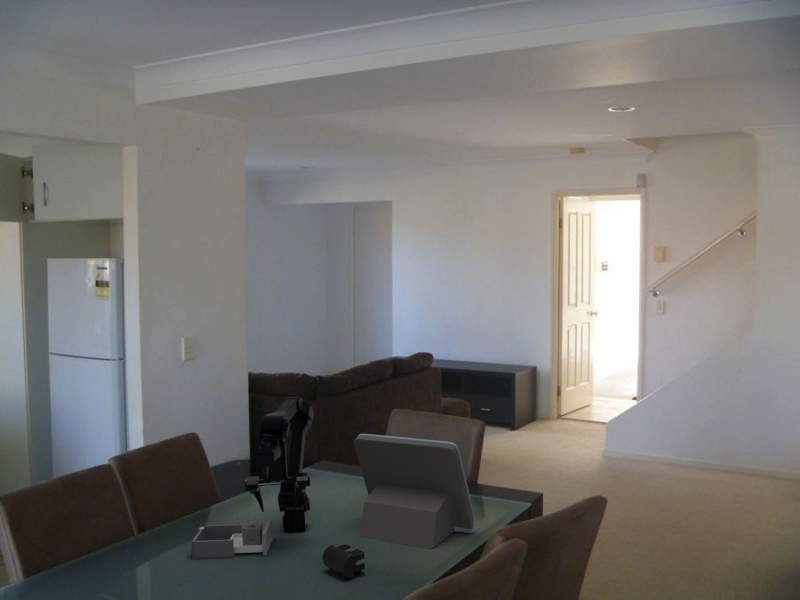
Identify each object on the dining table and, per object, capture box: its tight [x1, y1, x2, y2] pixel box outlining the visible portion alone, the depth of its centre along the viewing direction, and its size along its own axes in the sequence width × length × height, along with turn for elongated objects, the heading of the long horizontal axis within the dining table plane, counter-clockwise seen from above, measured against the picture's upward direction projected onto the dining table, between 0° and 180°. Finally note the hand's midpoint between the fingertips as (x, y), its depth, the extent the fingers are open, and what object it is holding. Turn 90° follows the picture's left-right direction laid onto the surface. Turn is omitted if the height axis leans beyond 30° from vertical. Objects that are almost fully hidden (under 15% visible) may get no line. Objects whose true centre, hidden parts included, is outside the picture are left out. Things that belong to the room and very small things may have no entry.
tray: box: [230, 517, 274, 557], centre depth 235 cm, size 12×14×6 cm
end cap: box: [322, 543, 366, 580], centre depth 213 cm, size 10×7×7 cm
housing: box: [190, 523, 243, 560], centre depth 235 cm, size 12×14×5 cm
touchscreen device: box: [353, 433, 475, 550], centre depth 242 cm, size 35×20×30 cm, turn 60°
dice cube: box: [242, 522, 263, 546], centre depth 235 cm, size 5×5×5 cm
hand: (279, 510), depth 235 cm, fingers open, 9 cm apart
